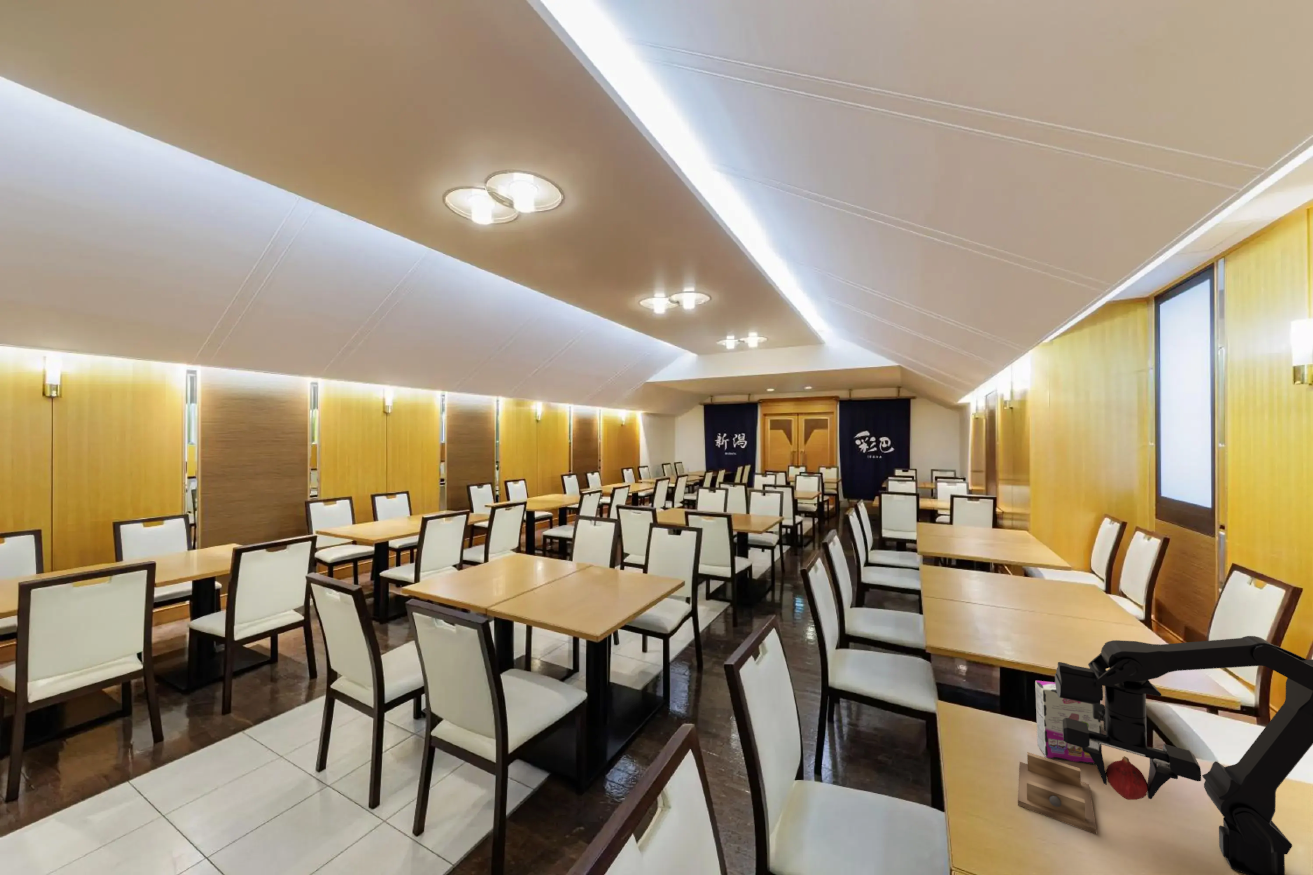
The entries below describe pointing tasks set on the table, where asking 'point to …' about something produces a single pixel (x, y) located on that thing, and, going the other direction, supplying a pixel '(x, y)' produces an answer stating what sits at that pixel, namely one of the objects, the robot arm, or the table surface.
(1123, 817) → the table surface
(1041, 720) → the candy bar box
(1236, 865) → the robot arm
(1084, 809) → the cup
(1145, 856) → the table surface
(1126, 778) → the onion
